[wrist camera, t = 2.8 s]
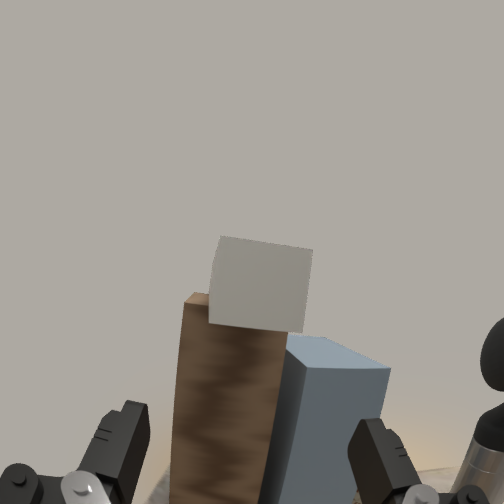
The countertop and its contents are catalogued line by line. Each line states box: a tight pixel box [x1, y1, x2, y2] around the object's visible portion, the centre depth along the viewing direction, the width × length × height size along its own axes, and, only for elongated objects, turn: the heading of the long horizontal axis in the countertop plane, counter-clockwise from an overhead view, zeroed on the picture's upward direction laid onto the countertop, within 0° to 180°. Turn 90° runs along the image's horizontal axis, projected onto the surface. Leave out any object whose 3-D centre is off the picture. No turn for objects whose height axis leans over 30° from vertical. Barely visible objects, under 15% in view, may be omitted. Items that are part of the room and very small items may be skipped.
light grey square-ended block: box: [209, 236, 313, 333], centre depth 27 cm, size 4×26×4 cm, turn 8°
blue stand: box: [257, 335, 391, 504], centre depth 31 cm, size 8×17×28 cm, turn 8°
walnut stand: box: [169, 292, 288, 504], centre depth 30 cm, size 8×17×32 cm, turn 8°
